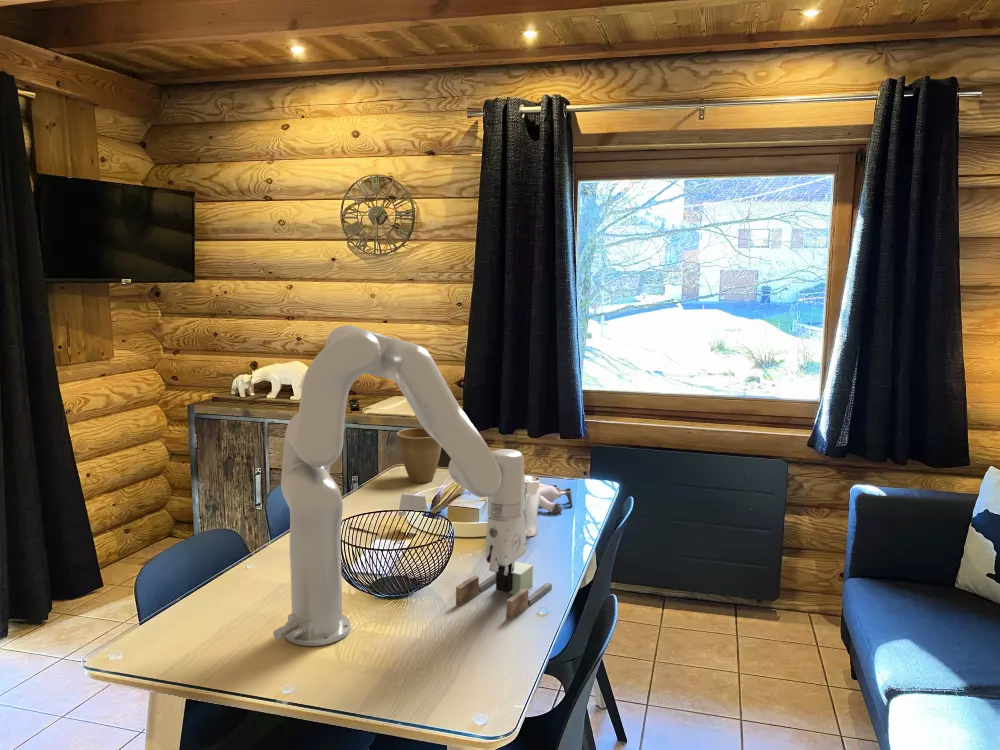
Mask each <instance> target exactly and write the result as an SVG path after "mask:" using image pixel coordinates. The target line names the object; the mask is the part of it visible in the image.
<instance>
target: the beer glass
mask: <svg viewBox="0 0 1000 750" xmlns="http://www.w3.org/2000/svg"><path fill="white" fill-rule="evenodd" d="M540 480H541V479H540V477H539V476H536V475H533V474H532V475H531V474H524V486H523V513H524V519H525V529H526V538H532V537H531V536H533V537H535V535H536V536H537V535H538V533H539V531H538V525H537V518H538V513H539V512H538V511H539V507H540V506H539V503H540V483H541V481H540Z"/></svg>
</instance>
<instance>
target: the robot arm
mask: <svg viewBox="0 0 1000 750" xmlns="http://www.w3.org/2000/svg"><path fill="white" fill-rule="evenodd" d="M365 374H367V375H371V376H375V377H380V378H383V379H387V380H391V381H394V382H395V384H396V385H397V386H398V388H399V389H400V392H401V393H402V395H403V397H404V398H405V399H406V401H407V403H408V405H409V406H410V408H411V409H412V412H413V414H414V415H415V417H416V419H417V420H418V423H419V424H420V425H421V428H424V429H425V430H426V432H427V433H428V434H429V435H430V436H431V437H432V438H433V439H434V440H435V441H436V442H437V443H438V444H439V445H440V446H441V447H442V448H441V449H443V450H444V451H445V453H446V454H447V455H448V457H449V458H450V461H449V463H448V473H449V475H450V478H451V479H452V480H453V481H454V482H456V483H457V484H458V485H459V486H461V487H462V488H464V489H465V490H466V491H468V492H469V493H470V494H472V495H473V496H475V497H479V498H487V517H488V518H487V519H488V520H487V525H486V533H485V550H484V551H485V552H484V553H485V555H484V556H485V560H486V563H488V564H489V569H488V570H489V571H490V572H494V574H496V583H495V591H496V590H498V591H497V592H500V591H502V593H505V594H509V592H510V591H512V589H513V573H511V572H513V571H514V565H515V561H516V562H517V560H519V559H520V558H521V557H523V556H524V555H525V554H526V551H527V537H526V529H525V519H524V513H523V486H524V475H525V473H524V472H525V459H524V455H523V453H522V452H520V451H519V450H517V449H512V448H511V449H509V448H499V449H495V450H490V448H489V446H488V444H487V443H486V441H485V440H484V438H483V437H482V435H481V434H480V433H479V432H480V431H478V429H477V428H476V427H475V426H474V424H473V423H472V422H471V420H470V418H469V417H468V415H467V414H466V413H465V411H464V410H463V408H462V407H461V406H460V405H459V402H458V401H457V399H456V397H455V396H454V394H453V392H452V390H451V389H450V387H449V386H448V384H447V382H446V380H445V379H444V377H443V375H442V372H441V371H440V369H439V368H438V365H437V363H436V362H435V361H434V359H433V357H432V355H431V354H430V353H429V351H428V350H427V349H425V348H424V347H423V346H421V345H419V344H416V343H414V342H410V341H407V340H403V339H398V338H394V337H390V336H387V335H383V334H380V333H376V332H373V331H369V330H366V329H363V328H360V327H357V326H354V325H341V326H339V327H336V328H335V329H333V330H332V331H330V333H329V334H328V336H327V338H326V341H325V347H324V348H323V349H322V350H321V351H320V352H318V353H317V355H316V356H314V358H313V360H312V361H311V363H310V364H309V365H308V368H307V369H306V371H305V374H304V377H303V382H302V387H301V392H300V393H301V394H300V401H299V408H298V412H297V413H296V414H295V415H293V416H292V417H291V419H290V420H289V422H288V424H287V427H286V429H285V433H284V440H283V441H284V443H283V451H282V452H283V455H282V462H281V463H282V464H281V474H280V475H281V478H280V482H281V483H280V488H281V493H282V496H283V498H284V500H285V502H286V505H287V507H288V508H289V515H290V516H289V517H290V523H289V524H290V526H289V560H290V561H289V562H290V563H289V565H290V589H291V591H290V593H291V594H290V595H291V613H289V614H288V615H287V622H285V623H284V625H283V626H280V627H279V628H276V629H275V630H273V631H272V632H273V633H272V634H273V637H274V639H275V640H277V641H279V640H282V639H284V638H285V639H286V640H287V641H289V642H290V643H292V644H295V645H298V646H303V647H304V646H305V647H318V646H324V645H328V644H332V643H335V642H337V641H340V640H342V639H344V638H345V637H346V636H347V635H349V633H350V631H351V621H350V619H349V618H348V617H347V616H345V615H344V614H343V599H342V598H343V594H342V593H343V591H342V590H343V589H342V588H343V587H342V586H343V584H342V581H343V580H342V551H341V550H342V543H341V542H342V541H341V539H342V538H341V537H342V520H343V510H344V509H343V507H344V505H343V504H344V502H343V496H342V493H341V490H340V488H339V485H338V483H336V481H335V480H334V479H333V478H332V476H331V474H330V472H331V465H333V464H334V463H336V462H337V460H338V459H339V457H340V456H341V453H342V451H343V447H344V435H345V422H346V421H345V420H346V409H347V405H348V404H347V403H348V397H349V393H350V390H351V387H352V386H353V384H354V383H355V382H356V380H357V379H358V378H360V377H361V376H363V375H365Z"/></svg>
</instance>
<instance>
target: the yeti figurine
mask: <svg viewBox="0 0 1000 750" xmlns="http://www.w3.org/2000/svg"><path fill="white" fill-rule="evenodd" d="M557 486H558V485H557V484H553V485H547V484H543V483H541V482H540V503H539V507H541V508H542V509H544V510H545V511H547V512H549V513H551V514H552V515H556V514H560V515H562V512H563V510H562V507H561V503H557V502H553V501H555V500H557V499H560V498H561V497H562V496H564V495H566V497H567V499H568V502H569V506H570V508H573V497H572V490H571V487H567V488H565V489H564V488H563V489H562V488H561V489H560V488H559V487H557Z"/></svg>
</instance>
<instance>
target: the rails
mask: <svg viewBox="0 0 1000 750" xmlns="http://www.w3.org/2000/svg"><path fill="white" fill-rule="evenodd" d="M494 584H496V573H494V574H492V575H491V576H489V577H488V578H487V579H485V580H483V581H482V582H480V583H479V593H483V592H484V591H485V590H487V589H488V588H490V587H491V586H493V585H494ZM550 589H551V590H552V589H553V585H552V583H550V582H546V583H545V584H543V585H541V587H539V588H538V589H536V590H535V591H534V592H533V593H531V594H529V595H528V606H529V605H530V606H532V605H533V604H534V603H536V602H537V601H538V600H540V599H541V598H542V597H543V596H544V595H547V593H549V592H550V591H551V590H550ZM549 590H550V591H549Z"/></svg>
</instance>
